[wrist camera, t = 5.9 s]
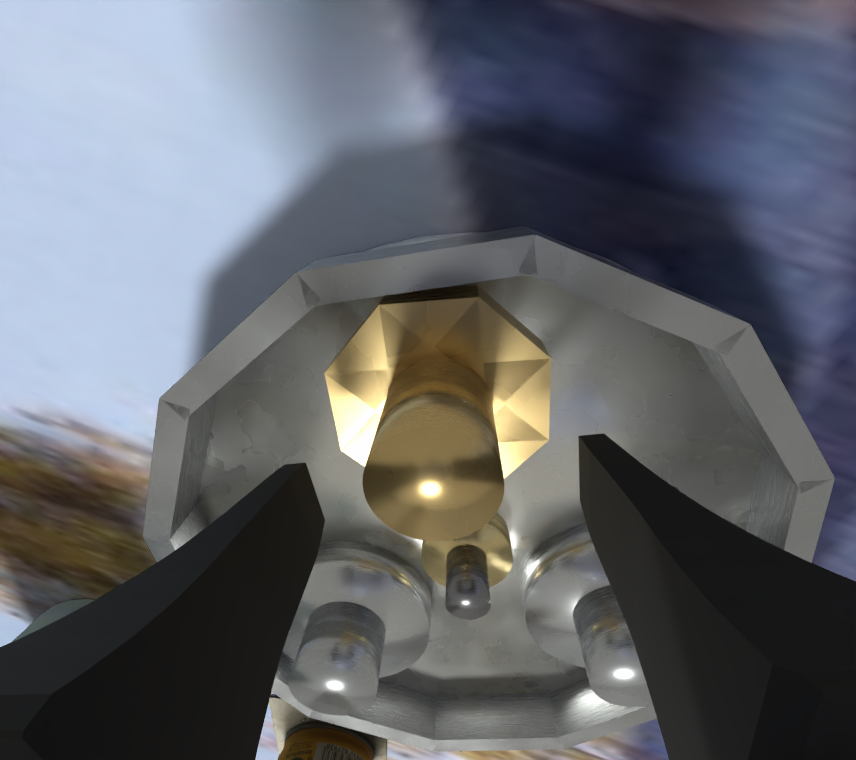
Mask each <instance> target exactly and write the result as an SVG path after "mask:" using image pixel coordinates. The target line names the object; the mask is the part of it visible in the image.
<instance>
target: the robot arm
mask: <svg viewBox="0 0 856 760" xmlns="http://www.w3.org/2000/svg"><path fill="white" fill-rule="evenodd" d="M578 439H579V488H580V503H581V506H582V510H583V514H584V517H585V521H586V524H587V528H588V531H589V535H590V537H591V540H592V542H593V545H594V547H595V550H596V552H597V554H598V557H599V559H600V562H601V564H602V566H603V569H604V571H605V574H606V576H607V578H608V581H609V583H610V585H611V588H612V590H613V592H614V595H615V597H616V600H617V602H618V604H619V607H620V609H621V611H622V614H623V616H624V618H625V621H626V623H627V626H628V629H629V631H630V634H631V637H632V639H633V642H634V645H635V648H636V652H637V655H638V658H639V661H640V664H641V667H642V671H643V674H644V677H645V680H646V683H647V686H648V690H649V693H650V696H651V700H652V703H653V706H654V710H655V713H656V716H657V719H658V723H659V726H660V729H661V733H662V736H663V739H664V743H665V746H666V750H667V753H668V757H669V760H856V582H855V581H853V580H851V579H848V578H846V577H843V576H841V575H838V574H836V573H833V572H831V571H829V570H827V569H824V568H822V567H820V566H817V565H815V564H813V563H811V562H808V561H806V560H804V559H802V558H800V557H798V556H795V555H793V554H791V553H789V552H787V551H785V550H783V549H781V548H779V547H777V546H775V545H772V544H770V543H768V542H766V541H764V540H762V539H760V538H759V537H757V536H755V535H753V534H751V533H749V532H747V531H745V530H743V529H742V528H740V527H738V526H736V525H734V524H733V523H731V522H729V521H727V520H726V519H724V518H722V517H720V516H718V515H717V514H715V513H713V512H712V511H710V510H708V509H707V508H705V507H703V506H702V505H700V504H699V503H697V502H696V501H694V500H693V499H691V498H690V497H688V496H686V495H685V494H683V493H682V492H680V491H679V490H677V489H676V488H674V487H673V486H672V485H670V484H669V483H667V482H666V481H664V480H663V479H662V478H660V477H659V476H658V475H656V474H655V473H653V472H652V471H651V470H649V469H648V468H647V467H645V466H644V465H643V464H642V463H640V462H639V461H638V460H636V459H635V458H634V457H633V456H631V455H630V454H629V453H628V452H626V451H625V450H624V449H623V448H621V447H620V446H619V445H618V444H616V443H615V442H614V441H613V440H611V439H610V438H609V437H608V436H606V435H605V434H604V433H602V434H592V435H582V436H578ZM324 524H325V518H324V515H323V512H322V509H321V506H320V503H319V500H318V497H317V494H316V491H315V488H314V485H313V482H312V480H311V477H310V474H309V471H308V468H307V465H306V463H295V464H285V465H283V466H282V467H280V468H279V469H278V470H276V471H275V472H274V473H272V474H271V475H270V476H269V477H267V478H266V479H265V480H264V481H263V482H261V483H260V484H259V485H258V486H257V487H255V488H254V489H253V490H252V491H251V492H249V493H248V494H247V495H246V496H244V497H243V498H242V499H241V500H240V501H238V502H237V503H236V504H235V505H234V506H232V507H231V508H230V509H229V510H228V511H226V512H225V513H224V514H223V515H221V516H220V517H219V518H217V519H216V520H215V521H214V522H212V523H211V524H210V525H208V526H207V527H206V528H204V529H203V530H202V531H201V532H199V533H198V534H197V535H195V536H194V537H193V538H191V539H190V540H189V541H187V542H186V543H185V544H183V545H182V546H181V547H179V548H178V549H176V550H175V551H173V552H172V553H171V554H169V555H168V556H166V557H165V558H163V559H162V560H160V561H159V562H157V563H156V564H154V565H153V566H151V567H150V568H148V569H146V570H145V571H143V572H142V573H140V574H139V575H137V576H135V577H134V578H132V579H130V580H128V581H127V582H125V583H123V584H122V585H120V586H118V587H117V588H115V589H113V590H111V591H110V592H108V593H106V594H105V595H103V596H101V597H100V598H98V599H96V600H94V601H93V602H91V603H89V604H87V605H85V606H83V607H81V608H80V609H78V610H76V611H74V612H72V613H70V614H68V615H66V616H65V617H63V618H61V619H59V620H57V621H55V622H53V623H51V624H49V625H47V626H45V627H43V628H41V629H39V630H37V631H35V632H33V633H30V634H28V635H26V636H24V637H22V638H20V639H18V640H16V641H13V642H11V643H9V644H7V645H5V646H2V647H0V760H255V757H256V753H257V748H258V744H259V739H260V735H261V731H262V727H263V723H264V719H265V715H266V711H267V706H268V702H269V698H270V694H271V691H272V687H273V683H274V679H275V676H276V672H277V668H278V665H279V661H280V657H281V654H282V651H283V648H284V645H285V642H286V639H287V636H288V633H289V631H290V628H291V625H292V623H293V620H294V617H295V615H296V612H297V609H298V607H299V604H300V601H301V599H302V596H303V593H304V591H305V588H306V585H307V583H308V580H309V577H310V574H311V572H312V569H313V566H314V564H315V561H316V558H317V555H318V551H319V547H320V542H321V538H322V533H323V528H324Z"/></svg>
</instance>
